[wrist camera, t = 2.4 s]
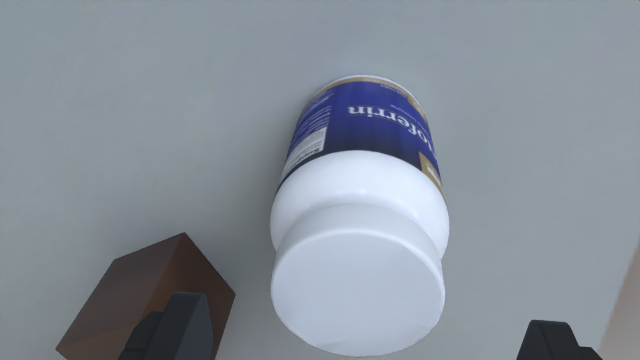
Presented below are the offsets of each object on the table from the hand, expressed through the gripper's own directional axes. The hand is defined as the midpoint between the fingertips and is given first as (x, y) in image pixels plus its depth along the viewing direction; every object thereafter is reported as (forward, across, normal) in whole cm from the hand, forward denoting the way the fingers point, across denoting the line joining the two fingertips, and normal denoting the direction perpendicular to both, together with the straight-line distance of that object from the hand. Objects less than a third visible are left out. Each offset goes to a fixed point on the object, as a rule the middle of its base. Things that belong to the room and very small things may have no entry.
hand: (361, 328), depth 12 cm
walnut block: (+11, +10, +10) cm, 18 cm away
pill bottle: (+11, 0, 0) cm, 11 cm away
